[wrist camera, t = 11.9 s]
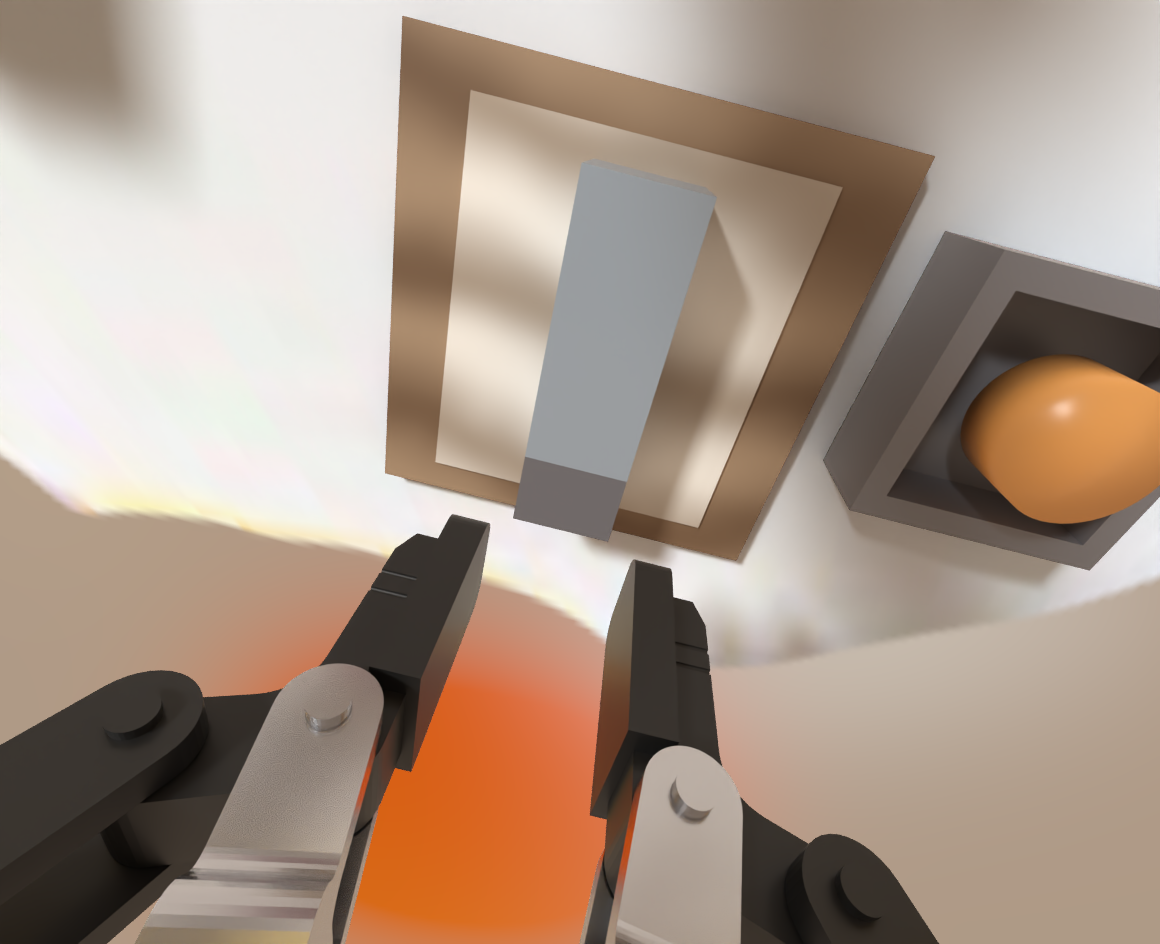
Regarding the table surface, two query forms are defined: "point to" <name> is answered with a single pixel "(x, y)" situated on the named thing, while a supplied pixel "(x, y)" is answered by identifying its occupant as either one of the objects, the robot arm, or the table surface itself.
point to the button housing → (960, 372)
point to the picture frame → (535, 254)
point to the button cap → (1065, 438)
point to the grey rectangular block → (608, 341)
